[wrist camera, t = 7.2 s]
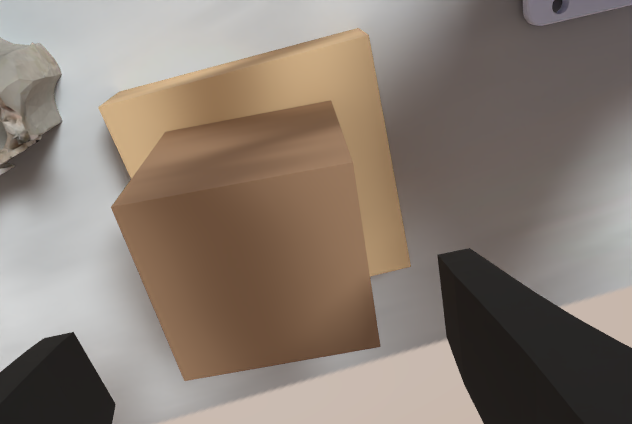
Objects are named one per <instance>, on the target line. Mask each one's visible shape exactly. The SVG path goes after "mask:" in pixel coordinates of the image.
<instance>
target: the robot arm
mask: <svg viewBox="0 0 632 424" xmlns="http://www.w3.org/2000/svg"><path fill="white" fill-rule="evenodd" d="M553 1H554V0H523V14H524V18H525V19H526V21H527V22H528V23H530V24H532V25H536V26H544V25H548V24H552V23H557V22H561V21H565V20H570V19H574V18H578V17H583V16H587V15H591V14H596V13H600V12H604V11H609V10H613V9H617V8H622V7H626V6H630V5H632V0H562V6H561V8H560V9H559V11H557V12H555V13H554V12H553V10H552V4H553ZM438 264H439V273H440V282H441V291H442V299H443V308H444V317H445V326H446V335H447V339H448V342H449V344H450V347H451V350H452V353H453V355H454V358H455V361H456V364H457V366H458V369H459V372H460V374H461V377H462V379H463V382H464V385H465V387H466V389H467V391H468V393H469V395H470V397H471V399H472V401H473V403H474V405H475V407H476V409H477V411H478V413H479V415H480V417H481V419H482V421H483V423H484V424H632V348H631V347H629V346H627V345H625V344H623V343H621V342H619V341H617V340H615V339H614V338H612V337H610V336H608V335H606V334H605V333H603V332H601V331H599V330H597V329H596V328H594V327H592V326H590V325H588V324H586V323H585V322H583V321H581V320H579V319H578V318H576V317H574V316H573V315H571V314H569V313H568V312H566V311H564V310H563V309H561V308H559V307H558V306H556V305H555V304H553V303H551V302H550V301H548V300H547V299H545V298H543V297H542V296H540V295H539V294H537V293H535V292H534V291H532V290H531V289H529V288H528V287H526V286H525V285H523V284H522V283H520V282H519V281H517V280H516V279H514V278H513V277H511V276H510V275H508V274H507V273H505V272H504V271H502V270H501V269H499V268H498V267H497V266H495V265H494V264H492V263H491V262H489V261H488V260H486V259H485V258H483V257H482V256H480V255H479V254H477V253H476V252H474V251H473V250H471V249H470V248H469V249H464V250H459V251H454V252H450V253H445V254H440V255H438ZM114 410H115V402H114V401H113V399H112V397H111V396H110V394H109V392H108V390H107V389H106V387H105V385H104V384H103V382H102V380H101V378H100V377H99V375H98V373H97V372H96V370H95V368H94V366H93V365H92V363H91V361H90V360H89V358H88V356H87V354H86V353H85V351H84V349H83V348H82V346H81V344H80V342H79V341H78V339H77V337H76V336H75V334H74V332H72V333H67V334H62V335H57V336H53V337H48V338H44V339H42V340H41V341H40V342H38V343H37V344H35V345H34V346H33V347H31V348H30V349H29V350H27V351H26V352H25V353H23V354H22V355H21V356H20V357H18V358H17V359H16V360H15V361H13V362H12V363H11V364H10V365H9V366H7V367H6V368H5V369H4V370H3V371H1V372H0V424H112V420H113V415H114Z"/></svg>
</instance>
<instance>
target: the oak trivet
mask: <svg viewBox="0 0 632 424" xmlns="http://www.w3.org/2000/svg"><path fill="white" fill-rule="evenodd" d="M330 100H331V101H332V104H333V107H334V110H335V113H336V115H337V118H338V121H339V124H340V127H341V130H342V132H343V135H344V138H345V141H346V144H347V147H348V150H349V152H350V155H351V158H352V161H353V166H354V173H355V179H356V186H357V193H358V200H359V206H360V213H361V220H362V226H363V233H364V240H365V247H366V253H367V260H368V267H369V273H370V276H374V275H378V274H382V273H386V272H391V271H395V270H399V269H403V268H407V267H411V265H410V259H409V254H408V248H407V243H406V237H405V232H404V226H403V221H402V215H401V210H400V204H399V199H398V193H397V188H396V182H395V177H394V171H393V166H392V160H391V155H390V149H389V144H388V138H387V133H386V127H385V122H384V117H383V111H382V106H381V100H380V95H379V89H378V84H377V78H376V73H375V67H374V62H373V56H372V51H371V45H370V40H369V35H368V34H366V33H365V32H363V31H362V30H360V29H359V28H357V29H353V30H349V31H345V32H342V33H338V34H334V35H330V36H327V37H323V38H319V39H315V40H312V41H308V42H304V43H300V44H297V45H293V46H289V47H285V48H282V49H278V50H274V51H270V52H267V53H263V54H259V55H255V56H252V57H248V58H244V59H240V60H237V61H233V62H229V63H225V64H222V65H218V66H214V67H210V68H207V69H203V70H199V71H195V72H192V73H188V74H184V75H180V76H177V77H173V78H169V79H165V80H162V81H158V82H154V83H150V84H147V85H143V86H139V87H135V88H132V89H128V90H124V91H120V92H118V93H117V94H116V95H114V96H113V97H111V98H110V99H109V100H107V101H106V102H105V103H103V104H102V105H101V106H99V107H98V108H99V110H100V112H101V114H102V117H103V119H104V121H105V123H106V125H107V127H108V130H109V132H110V134H111V136H112V138H113V140H114V143H115V145H116V147H117V149H118V151H119V153H120V156H121V158H122V160H123V162H124V164H125V166H126V169H127V171H128V173H129V175H130V177H131V179H132V177H133V176H134V175H135V173H136V172H137V170H138V169H139V168H140V166H141V165H142V163H143V162H144V161H145V159H146V158H147V157H148V155H149V154H150V152H151V151H152V150H153V148H154V147H155V145H156V144H157V143H158V141H159V140H160V139H161V137H162V136H163V134H164V133H165V132H167V131H172V130H177V129H182V128H188V127H193V126H198V125H204V124H209V123H214V122H219V121H225V120H230V119H235V118H240V117H246V116H251V115H256V114H261V113H267V112H272V111H277V110H283V109H288V108H293V107H298V106H304V105H309V104H314V103H319V102H325V101H330Z"/></svg>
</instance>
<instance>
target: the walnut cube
mask: <svg viewBox="0 0 632 424" xmlns="http://www.w3.org/2000/svg"><path fill="white" fill-rule="evenodd" d="M111 208H112V211H113V213H114V215H115V218H116V220H117V223H118V225H119V227H120V230H121V232H122V234H123V237H124V239H125V241H126V244H127V246H128V249H129V251H130V253H131V256H132V258H133V260H134V263H135V265H136V267H137V270H138V272H139V275H140V277H141V279H142V282H143V284H144V286H145V289H146V291H147V293H148V296H149V298H150V301H151V303H152V305H153V308H154V310H155V312H156V315H157V317H158V319H159V322H160V324H161V327H162V329H163V331H164V334H165V336H166V338H167V341H168V343H169V345H170V348H171V350H172V353H173V355H174V357H175V360H176V362H177V364H178V367H179V369H180V371H181V374H182V376H183V379H184V381H188V380H193V379H199V378H205V377H210V376H216V375H222V374H228V373H233V372H239V371H245V370H250V369H256V368H262V367H268V366H273V365H279V364H285V363H290V362H296V361H302V360H308V359H313V358H319V357H325V356H330V355H336V354H342V353H348V352H353V351H359V350H365V349H371V348H376V347H380V340H379V334H378V327H377V320H376V314H375V307H374V300H373V293H372V287H371V280H370V273H369V267H368V260H367V253H366V247H365V240H364V233H363V226H362V220H361V213H360V206H359V200H358V193H357V186H356V179H355V173H354V166H353V161H352V158H351V155H350V152H349V150H348V147H347V144H346V141H345V138H344V135H343V132H342V130H341V127H340V124H339V121H338V118H337V115H336V113H335V110H334V107H333V104H332V101H331V100H330V101H325V102H319V103H314V104H309V105H304V106H298V107H293V108H288V109H283V110H277V111H272V112H267V113H261V114H256V115H251V116H246V117H240V118H235V119H230V120H225V121H219V122H214V123H209V124H204V125H198V126H193V127H188V128H182V129H177V130H172V131H167V132H165V133H164V134H163V136H162V137H161V139H160V140H159V141H158V143H157V144H156V145H155V147H154V148H153V150H152V151H151V152H150V154H149V155H148V157H147V158H146V159H145V161H144V162H143V163H142V165H141V166H140V168H139V169H138V170H137V172H136V173H135V175H134V176H133V177H132V179H131V180H130V182H129V183H128V184H127V186H126V187H125V188H124V190H123V191H122V193H121V194H120V195H119V197H118V198H117V200H116V201H115V202H114V204H113V205H112V206H111Z"/></svg>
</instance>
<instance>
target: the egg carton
mask: <svg viewBox="0 0 632 424" xmlns="http://www.w3.org/2000/svg"><path fill="white" fill-rule="evenodd" d="M61 75H62V74H61V70H60V68H59V66H58V64H57V62H56V61H55V59H54V58H53V57H52V55H51V54H50V53H49V52H48V51H47V50H46V49H45V48H44V46H43V45H42V44H40V43H37V44H34V43H33V42H32V44H31V45H21V44H13V43H10V42H8V41H6V40H4V39H2V38H1V37H0V175H1V174H3V173H5V172H6V171H8V170H10V169H12V168H14V167H15V166H14V165H12V164H10V163H8V162H7V161H9V160H10V159H11V158H13V157H14V156H16V155H17V154H19V153H21V152H23V151H25V150H26V149H27V148H28V147H30V146H32V145H33V144H35V143H36V142H38V141H39V140H40V139H41V138H42V137H41V135H42V134H44V133H45V132H47V131H48V130H50V129H51V128H53V127H54V126H56V125H58V124H59V123H61V122H62V118H61V116H60V114H59V111H58V109H57V106H56V103H55V98H54V91H55V86H56V82H57V81H58V79H59V78H60V76H61Z"/></svg>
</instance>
